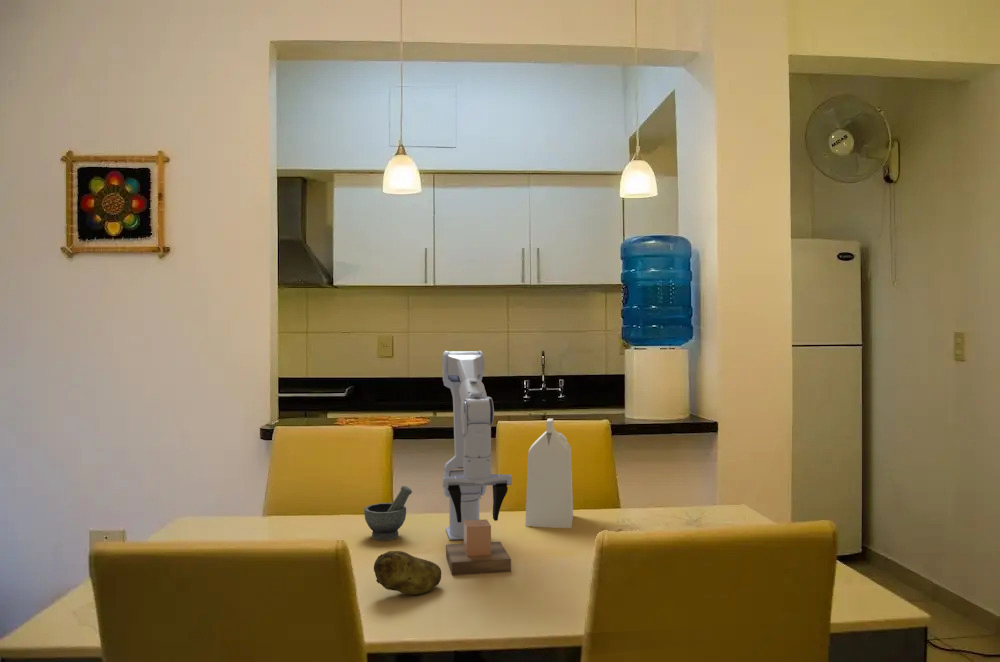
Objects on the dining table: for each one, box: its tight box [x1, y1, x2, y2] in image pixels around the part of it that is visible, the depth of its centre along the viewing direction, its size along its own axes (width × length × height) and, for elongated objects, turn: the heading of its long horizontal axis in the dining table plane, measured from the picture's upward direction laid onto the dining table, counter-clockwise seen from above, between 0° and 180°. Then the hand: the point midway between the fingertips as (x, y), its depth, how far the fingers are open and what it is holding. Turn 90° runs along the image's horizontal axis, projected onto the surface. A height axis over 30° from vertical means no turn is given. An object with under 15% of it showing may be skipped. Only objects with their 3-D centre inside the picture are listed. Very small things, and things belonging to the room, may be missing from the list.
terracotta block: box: [463, 518, 492, 556], centre depth 146 cm, size 5×5×6 cm
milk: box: [524, 418, 574, 529], centre depth 180 cm, size 12×12×26 cm
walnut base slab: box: [445, 541, 512, 576], centre depth 146 cm, size 12×12×2 cm
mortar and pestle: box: [363, 485, 413, 542], centre depth 166 cm, size 11×9×12 cm
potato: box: [373, 550, 442, 596], centre depth 130 cm, size 8×13×8 cm, turn 103°
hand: (477, 520), depth 146 cm, fingers open, 7 cm apart
